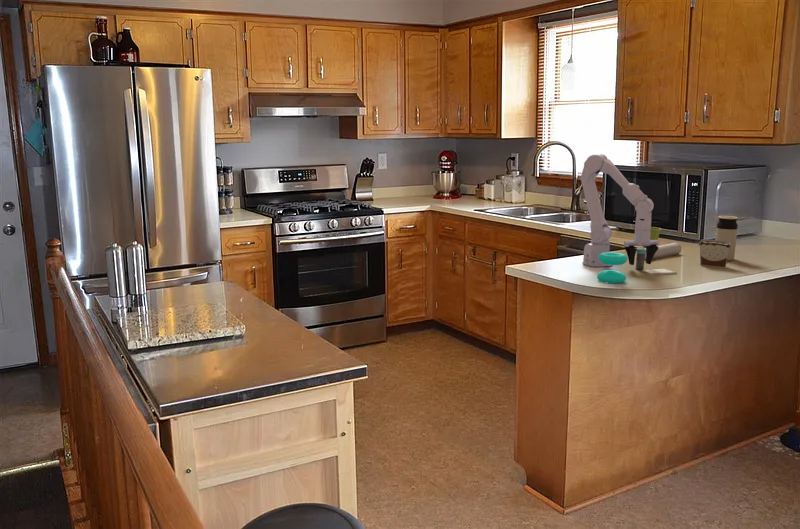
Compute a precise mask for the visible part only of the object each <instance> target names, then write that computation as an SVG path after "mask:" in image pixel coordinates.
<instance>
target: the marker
mask: <svg viewBox="0 0 800 529" xmlns="http://www.w3.org/2000/svg"><path fill="white" fill-rule="evenodd" d="M645 250H646V249H644V248H637V251H636V257H635V270H638V271H642V270H645Z"/></svg>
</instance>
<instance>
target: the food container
mask: <svg viewBox="0 0 800 529" xmlns="http://www.w3.org/2000/svg"><path fill="white" fill-rule="evenodd" d="M698 247H699V256H700V257H699V258H700V265H699V266H704V267H713V268H721V269H722V268H723V269H725V268H726V266H727V262H728V260H727V259H728V254H729V250H730V248H731V249H732V247H731V243H730V242H727V241H720V240H715V239H701V240H700V241H699V242H698Z"/></svg>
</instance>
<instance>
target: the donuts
mask: <svg viewBox="0 0 800 529" xmlns="http://www.w3.org/2000/svg"><path fill="white" fill-rule="evenodd" d="M598 258H599V260H600V262H602V263H604V264H607V265H613V266H621V265H624V264H626V263H627V262H628V255H627V254H625V253H621V252H614V251H609V252H604V253H601V254H600V255H599V257H598ZM596 278H597V280H598V281H599V280H600V281H599V282H601V281H602V283H605V282H608V283H607V284H621V283H624V282H625V281H626V279H627V276H626V275H625V273H623V272H622V271H619V270H613V269H612V270H611V269H606V270H605V269H604V270H601V271H599V272H598V273H597V275H596Z"/></svg>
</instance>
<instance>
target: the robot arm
mask: <svg viewBox="0 0 800 529" xmlns="http://www.w3.org/2000/svg"><path fill="white" fill-rule="evenodd" d="M600 173H603V174H606V175H609V176H610V178H611V179H613V181H615V183H617V184H618V185H619V187H620V188H621V189H622V195H623V196H624V197H625V198H626V199H627V200H628V201H629V202H630V204H632V205H633V206H634V209H635V212H636V217H635V226H634V239H631V240H625V241H623V247H624V250H625V252H626V256H627V260H628V264H629V265H631V266H634V264H635V262H636V255H637V249H638V248H637V247H645V248H646V260H645V263H646V264H647V265H651V264H652V262H653V260H654V259H653V257H654V255H655V253H656V251H657V250H658V246H660V240H659V239H658V240H650V230H651V227H652V214H653V213H652V211H653V209H654V206H655V204H654V202H653V200H652V199H651V198H648V195H647V194H644V193H643V191H642V190H641V189H640V186H639V185H638V184H635V183H631V182H629V181H628V180H627V178H626V177H625V175H623V174H622V172H621V171H620V170H619V168H617V166H616V165H615V164H614V163H613V161H611V160H610V158H608V157H607V156H606V155H605V154H602V153H598V154H591V155H590V156H588V157H587V158H586V160H585V161H584V162H583V169H582V173H581V175H580V183H581V185H582V189H583V192H584V197H585V202H586V206H587V210H588V214H589V218H590V234H589V236H590V239H591V241H590V243H586V244H585V245H584V248H583V258H582V259H583V261H581V263H582V264H584V265H587V266H589V267H591V268H594V267H613V266H614V265H607V264H604V263H602V262H600V260H599V258H598V257H599V255H600V254H601V253H604V252H610V247H611V246H610V245H611V244H610V243H611V242H610V240H609V239H610V238H611V236H612V235H613V234H612V233H613V232H612V229H611V227H610V226H609V225H608V221H607V220H606V218H605V216H604V213H603V208H602V205H601V200H600V196H599V192H598V188H597V185H596V180H595V179H596V178H597V177H598V175H599V174H600Z"/></svg>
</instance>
